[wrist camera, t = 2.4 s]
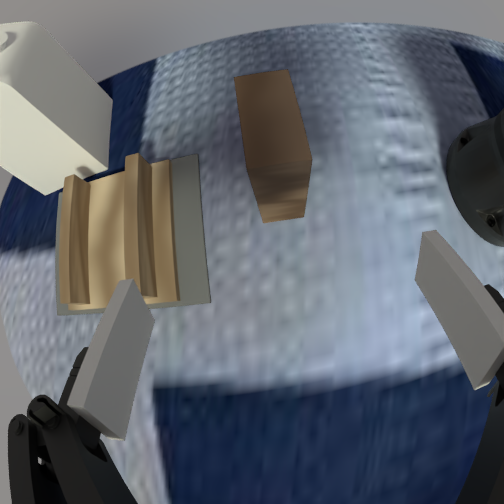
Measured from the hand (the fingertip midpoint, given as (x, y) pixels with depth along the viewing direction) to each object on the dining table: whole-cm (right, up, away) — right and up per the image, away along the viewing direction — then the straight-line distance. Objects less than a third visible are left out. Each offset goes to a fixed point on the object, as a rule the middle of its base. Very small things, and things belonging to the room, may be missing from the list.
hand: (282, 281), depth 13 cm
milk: (-26, +16, +22) cm, 38 cm away
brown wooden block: (+1, +8, +17) cm, 19 cm away
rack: (-16, +3, +18) cm, 24 cm away
